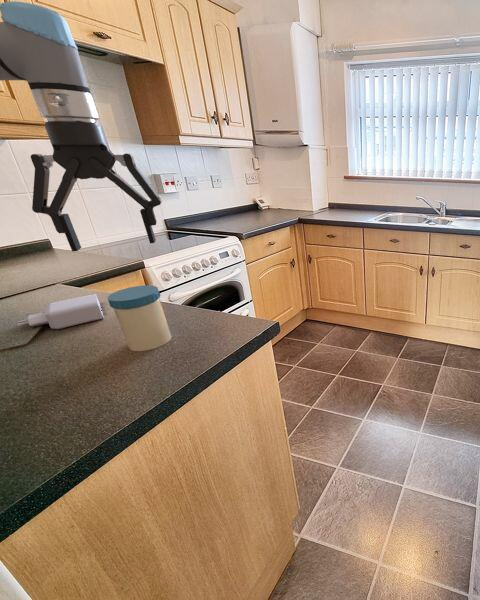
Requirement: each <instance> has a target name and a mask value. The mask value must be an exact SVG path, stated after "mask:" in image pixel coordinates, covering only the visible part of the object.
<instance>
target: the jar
mask: <svg viewBox="0 0 480 600" xmlns="http://www.w3.org/2000/svg"><path fill="white" fill-rule="evenodd" d="M113 310H114V311H113V312H114V313H115V316H116V319H117V321H118V324H119V326H120V329H121V332H122V334H123V336H124V339H125V342H126V345H127V347H128V349H129V350H130V351H132V352H146V351H151V350H155V349H158V348H160V347H162V346H165V345H166V344H168V343H169V342H170V341H171V340H172V337H173V336H172V332H171V330H170V327H169V324H168V321H167V318H166V315H165V311H164V307H163V305H162V302H161V299H160V298H159V299H158V300H156V301H154V302H152V303H150V304H147V305H144V306H140V307H135V308H129V309H115V308H113Z"/></svg>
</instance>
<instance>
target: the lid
mask: <svg viewBox="0 0 480 600" xmlns="http://www.w3.org/2000/svg"><path fill="white" fill-rule="evenodd" d="M160 298H161V292H160V290H159V288H158V287H157V285H156V286H155V285H147V284H146V285H136V286H131V287H126V288H123V289H119V290H117V291H115V292H112V293H110V294H109V295H108V296H107V301H108V304H109V306H110V308H111V309H114V308H115V309H129V308H135V307H140V306H144V305H147V304H150V303H152V302H154V301H156V300H158V299H160Z"/></svg>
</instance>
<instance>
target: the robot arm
mask: <svg viewBox="0 0 480 600" xmlns="http://www.w3.org/2000/svg"><path fill="white" fill-rule="evenodd" d="M0 14H1V16H0V18H1V20H2V21H0V81H25V82H26V83H27V85H28V87H29V89H30V92H31V94H32V97H33V100H34V102H35V105H36V108H37V111H38V112H39V115H40V117H41V118H43V119H46V121H45V122H44V123H43V126H44V129H45V132H46V134H47V136H48V139H49V141H50V144H51V147H52V151H53V152H52V154H42V153H33V154H30V160H31V162H32V165H33V167H34V176H33V188H32V189H33V191H32V203H31V210H32V212H33V213H36V214H44V215H47V216H48V217H50V219H51V221H52V223H53V227H54V228H55V231H56V232H57V233H58V234H64V235H65V238H66V240H67V242H68V245H69V247H70V250H71V252H78V251H79V250H81V249H82V246H81V243H80V241H79V240H80V239H79V238H78V235H77V233H76V230H75V228H74V225H73V222H72V221H71V218H70V215H69V213H63V209H64V207H65V206H66V203H67V201H68V199H69V197H70V194H71V192H72V190H73V188H74V185H75V184H76V182H77V181H78V179H80V180H88V179H97V180H100V179H105V178H107V179H108V180H109V181H111V182H112V183H114V185H116V186H117V187H118V188H119V189H121V191H123V192H124V193H125V194H127V195H128V196H129V197H130V198H131V199H132V200H134V201H135V202H136V204H138V205H140V207H142V208H141V209H140V210H139V212H140V215H141V218H142V222H143V226H144V228H145V231H146V235H147V238H148V241H149V244H155V243H156V241H157V239H156V236H155V232H154V229H153V226H156V225H157V218H156V215H155V211H154V208H156V207H159V206H160V205H161V204H162V202H163V201H162V199H161V198H160V196H159V194H157V192H156V191H155V190H154V188H153V187H152V186H151V184H150V183H149V181H148V180H147V179H146V177H145V176H144V175H143V173H142V172H141V171H140V170H139V168H138V166H137V165H136V162H135V158H134V156H133V155H132V153H124V154H114V153H113V152H112V151H111V149H110V147H109V143H108V141H107V137H106V135H105V132H104V127H103V125H101V124H100V123H97V121H99V120H100V119H101V118H100V116H99V112H98V110H97V105H96V104H95V100H94V97H93V94H92V92H91V89H90V88H89V85H88V81H87V78H86V74H85V71H84V68H83V64H82V61H81V58H80V53H79V48H78V46H77V44H76V43H75V40H74V37H73V35H72V32H71V29H70V27H69V24H68V22H67V20H66V19H65V18H64V16H63V15H61V14H60V13H59V12H57V11H55V10H52V9H51V8H48V7H46V6H43V5H38V4H34V3H30V2H25V1H15V0H14V1H13V0H11V1H9V0H8V1H6V2H1V3H0ZM116 162H119V163H120V165H121V166H122V167H126V168H127V171H128V172H129V173H130V174H131V176H132V177H133V178H134V180H135V181H136V182H137V183H138V185H139V186H140V188H141V189H142V190H143V191H144V193H145V194H146V195H147V197H148V198H149V200H148V199H147V198H146V197H145V196H143V195H142V193H140V192H139V191H138V190H136V189H135V188H134V187H133V186H131V184H129V182H127V181H126V180H125V179H124V178H123V177H122V176H121V175H120V174H119V173H118V172H116V171H115V170H114V169H113V168H114V165H115V163H116ZM54 163H56V164H57V165H58V166H59V167H61V168H63V169H64V170H65V171H64V173H63V175H62V177H61V181H60V183H59V186H58V188H57V189H56V192H55V194H54V196H53V199H52V201H51V203H50V204H49V205H48V201H49V200H48V198H49V186H50V185H49V184H50V173H51V171H50V170H51V169H50V168H53V166H54Z"/></svg>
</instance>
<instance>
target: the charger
mask: <svg viewBox="0 0 480 600" xmlns="http://www.w3.org/2000/svg"><path fill="white" fill-rule="evenodd" d="M101 310H102V311H101ZM103 312H104V311H103V309H102V306H101V303H100V301H99V299H98V296H97V293H93V294H88V295H83V296H78V297H73V298H68V299H63V300H58V301H54V302H49V303H48V304H47V305H46V306H45V309H44V311H43V312H39V313H34V314H28V317H27V318H26V319H22V320H18V321H17V323H16V326H19V327H20V326H22V325H27V324H28V325H29V327H31V328H33V327H39V326H43V325H47V324H48V325H49V327H50V329H52V330H60V329H65V328H69V327H75V326H77V325H78V326H79V325H81V324H87V323H89V322H90V323H91V322H95V321H99V320H102V319H104V318H105V317H104V313H103Z"/></svg>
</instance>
